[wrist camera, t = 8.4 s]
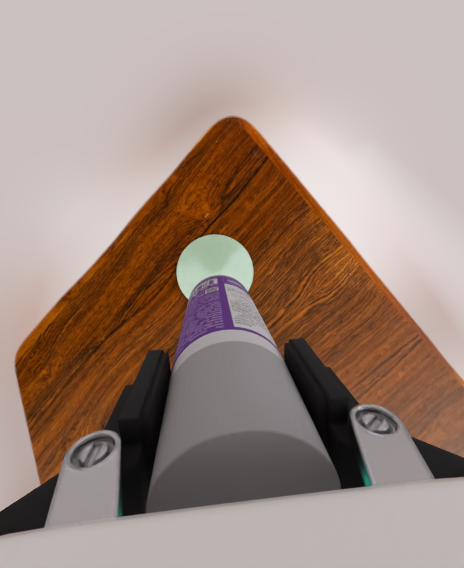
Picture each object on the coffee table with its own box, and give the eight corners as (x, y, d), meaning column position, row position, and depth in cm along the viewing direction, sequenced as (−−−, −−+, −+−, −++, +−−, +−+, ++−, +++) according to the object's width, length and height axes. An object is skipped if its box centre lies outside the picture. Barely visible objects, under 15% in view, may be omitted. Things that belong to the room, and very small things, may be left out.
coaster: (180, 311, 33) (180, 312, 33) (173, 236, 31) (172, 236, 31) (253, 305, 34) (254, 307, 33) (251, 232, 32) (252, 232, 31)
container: (190, 336, 21) (151, 601, 6) (185, 276, 20) (124, 436, 5) (251, 331, 21) (342, 574, 7) (249, 272, 20) (354, 413, 6)
